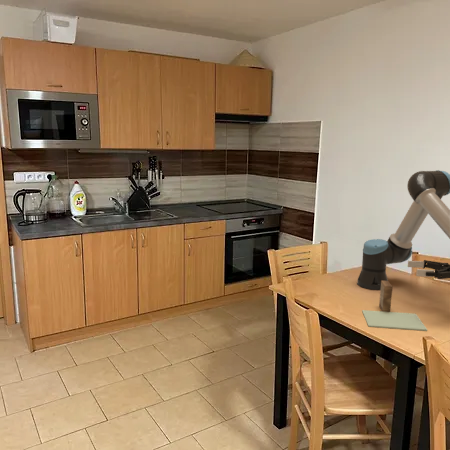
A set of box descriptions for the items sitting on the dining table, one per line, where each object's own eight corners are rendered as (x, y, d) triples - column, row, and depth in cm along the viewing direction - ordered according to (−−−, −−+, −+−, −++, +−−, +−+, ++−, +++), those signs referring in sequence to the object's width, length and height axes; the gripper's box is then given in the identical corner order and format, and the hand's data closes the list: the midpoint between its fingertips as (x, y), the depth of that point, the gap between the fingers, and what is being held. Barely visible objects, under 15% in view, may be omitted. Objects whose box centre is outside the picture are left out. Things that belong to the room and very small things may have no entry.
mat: (368, 326, 168) (368, 325, 168) (362, 311, 184) (362, 310, 183) (427, 331, 165) (427, 329, 164) (415, 315, 180) (415, 313, 180)
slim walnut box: (382, 312, 182) (384, 286, 180) (378, 306, 190) (380, 280, 188) (390, 313, 182) (392, 286, 180) (386, 306, 190) (388, 280, 187)
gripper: (477, 288, 166) (419, 285, 169) (453, 270, 190) (404, 268, 193) (479, 270, 165) (421, 267, 168) (455, 254, 189) (405, 252, 192)
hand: (412, 268), depth 181 cm, fingers open, 13 cm apart
